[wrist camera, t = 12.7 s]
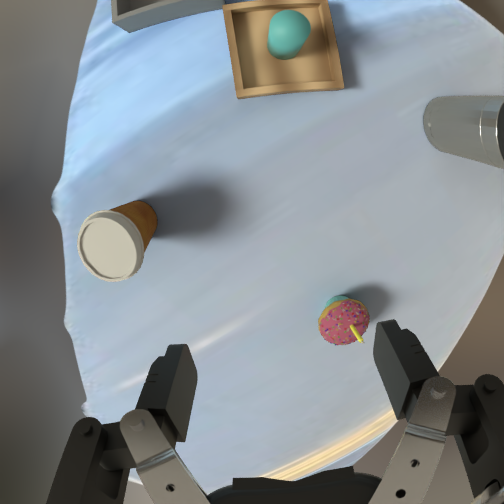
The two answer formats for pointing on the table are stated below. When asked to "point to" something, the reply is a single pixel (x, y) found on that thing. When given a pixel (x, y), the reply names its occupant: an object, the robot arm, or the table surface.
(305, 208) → the table surface
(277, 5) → the tray
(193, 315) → the table surface
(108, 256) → the disposable coffee cup
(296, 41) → the peg
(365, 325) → the cupcake
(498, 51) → the table surface
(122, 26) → the deep bin
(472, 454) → the robot arm
